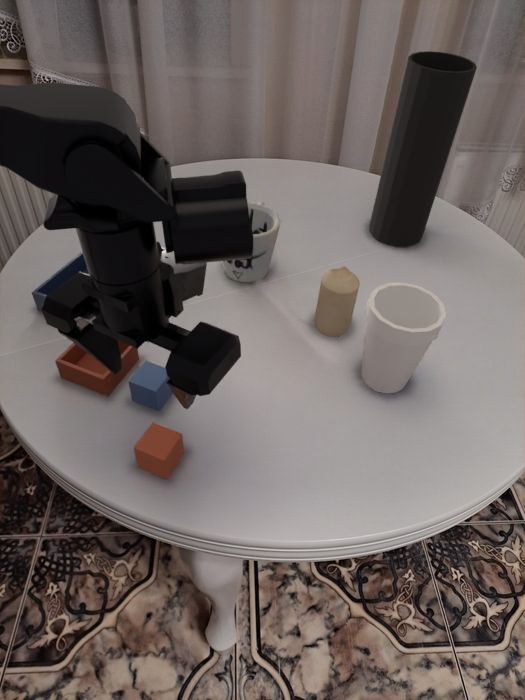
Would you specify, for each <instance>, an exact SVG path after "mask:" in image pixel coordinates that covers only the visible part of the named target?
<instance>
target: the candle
mask: <svg viewBox="0 0 525 700" xmlns="http://www.w3.org/2000/svg"><path fill="white" fill-rule="evenodd" d="M360 285H361V281H360V279H359V277H358V276H357V275H356V274H355V273H353V271H351V270H350V269H349V268H348V267H346V266H341V267H338V268H332V269H329V270H327V271H325V272H324V273H323V274H322V275H321V279H320V284H319V290H318V297H317V302H316V308H315V314H314V320H313V322H314V323H313V324H314V327H315V329H316V330H317V331H318V332H319V333H320V334H323V335H325V336H328V337H340V336H343V335H345V334H347V332H348V331H349V329H350V328H351V327H350V326H351V323H352V318H353V315H354V311H355V306H356V302H357V299H358V298H357V297H358V293H359V289H360Z"/></svg>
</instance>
